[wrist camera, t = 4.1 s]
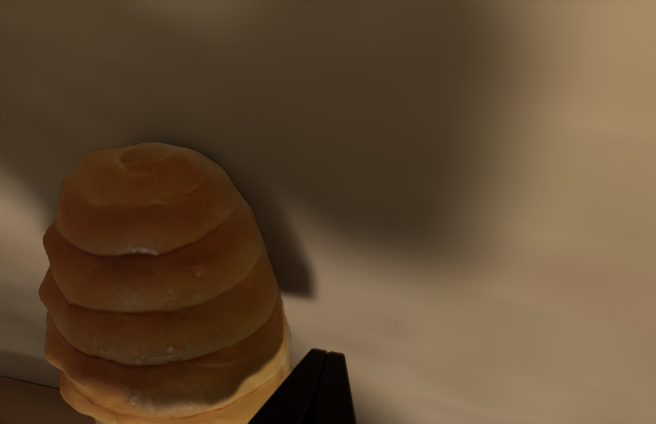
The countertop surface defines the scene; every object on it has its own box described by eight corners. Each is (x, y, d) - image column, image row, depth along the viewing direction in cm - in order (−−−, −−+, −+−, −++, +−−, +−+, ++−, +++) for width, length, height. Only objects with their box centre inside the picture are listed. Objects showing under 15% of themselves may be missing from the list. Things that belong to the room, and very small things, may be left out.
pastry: (52, 116, 10) (-130, 176, 6) (304, 146, 9) (238, 234, 5) (131, 356, 14) (50, 460, 11) (300, 393, 14) (264, 518, 10)
